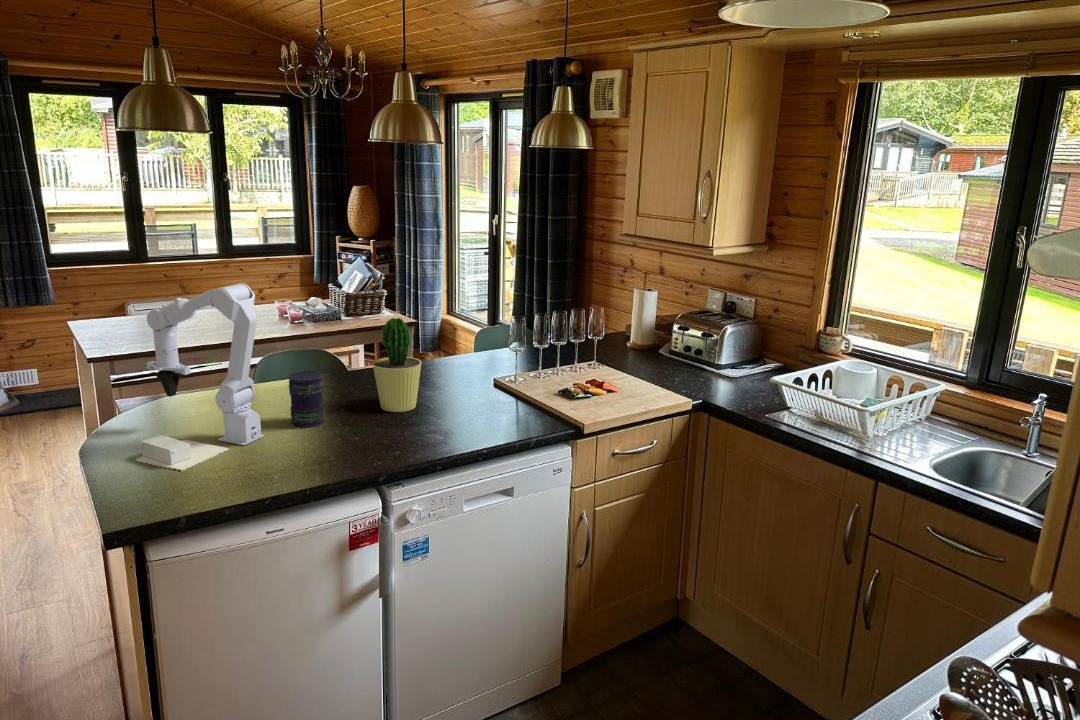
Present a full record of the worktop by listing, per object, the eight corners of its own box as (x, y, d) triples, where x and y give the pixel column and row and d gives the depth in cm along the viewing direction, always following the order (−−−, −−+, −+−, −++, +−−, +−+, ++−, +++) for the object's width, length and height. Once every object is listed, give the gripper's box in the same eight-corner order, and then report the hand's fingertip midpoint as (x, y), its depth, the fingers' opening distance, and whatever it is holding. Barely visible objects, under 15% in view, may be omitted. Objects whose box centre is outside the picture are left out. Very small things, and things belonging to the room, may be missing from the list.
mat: (229, 450, 204) (228, 448, 204) (182, 471, 190) (181, 469, 190) (184, 441, 210) (184, 439, 210) (135, 461, 195) (135, 459, 195)
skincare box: (142, 456, 198) (170, 465, 192) (140, 440, 196) (169, 450, 191) (163, 449, 203) (191, 458, 197) (161, 434, 202) (190, 443, 196)
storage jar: (315, 429, 221) (312, 381, 217) (285, 426, 223) (281, 378, 219) (331, 418, 230) (328, 372, 227) (301, 416, 232) (298, 369, 228)
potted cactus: (427, 400, 250) (425, 312, 242) (415, 415, 235) (413, 321, 228) (382, 398, 252) (379, 310, 244) (367, 412, 237) (364, 319, 229)
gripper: (135, 350, 212) (141, 395, 215) (174, 355, 206) (179, 402, 210) (156, 344, 218) (161, 389, 221) (194, 350, 213) (199, 395, 216)
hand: (171, 395), depth 216 cm, fingers closed
